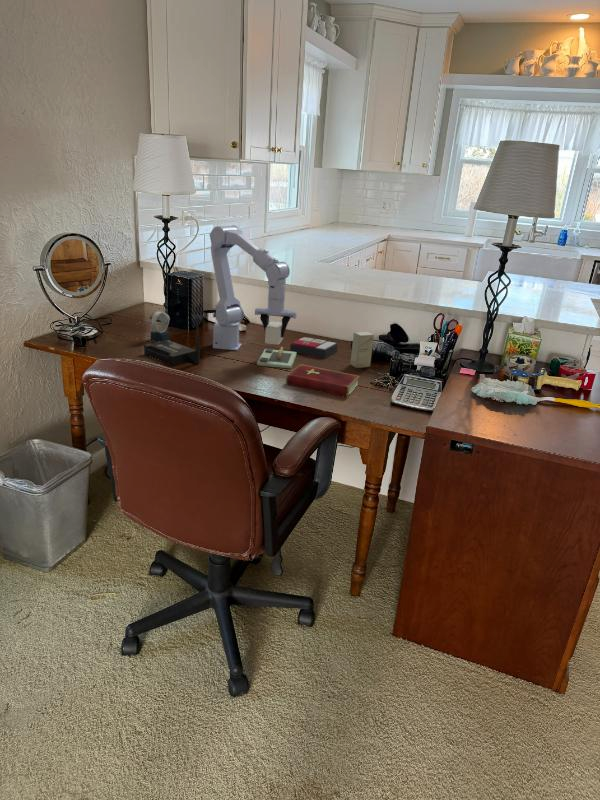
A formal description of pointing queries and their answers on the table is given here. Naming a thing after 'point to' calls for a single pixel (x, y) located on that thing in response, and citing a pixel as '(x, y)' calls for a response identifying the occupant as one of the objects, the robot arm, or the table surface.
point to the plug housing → (273, 333)
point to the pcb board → (277, 358)
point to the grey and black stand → (173, 351)
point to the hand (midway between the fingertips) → (274, 336)
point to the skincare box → (362, 349)
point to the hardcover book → (322, 380)
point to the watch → (161, 334)
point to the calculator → (314, 347)
